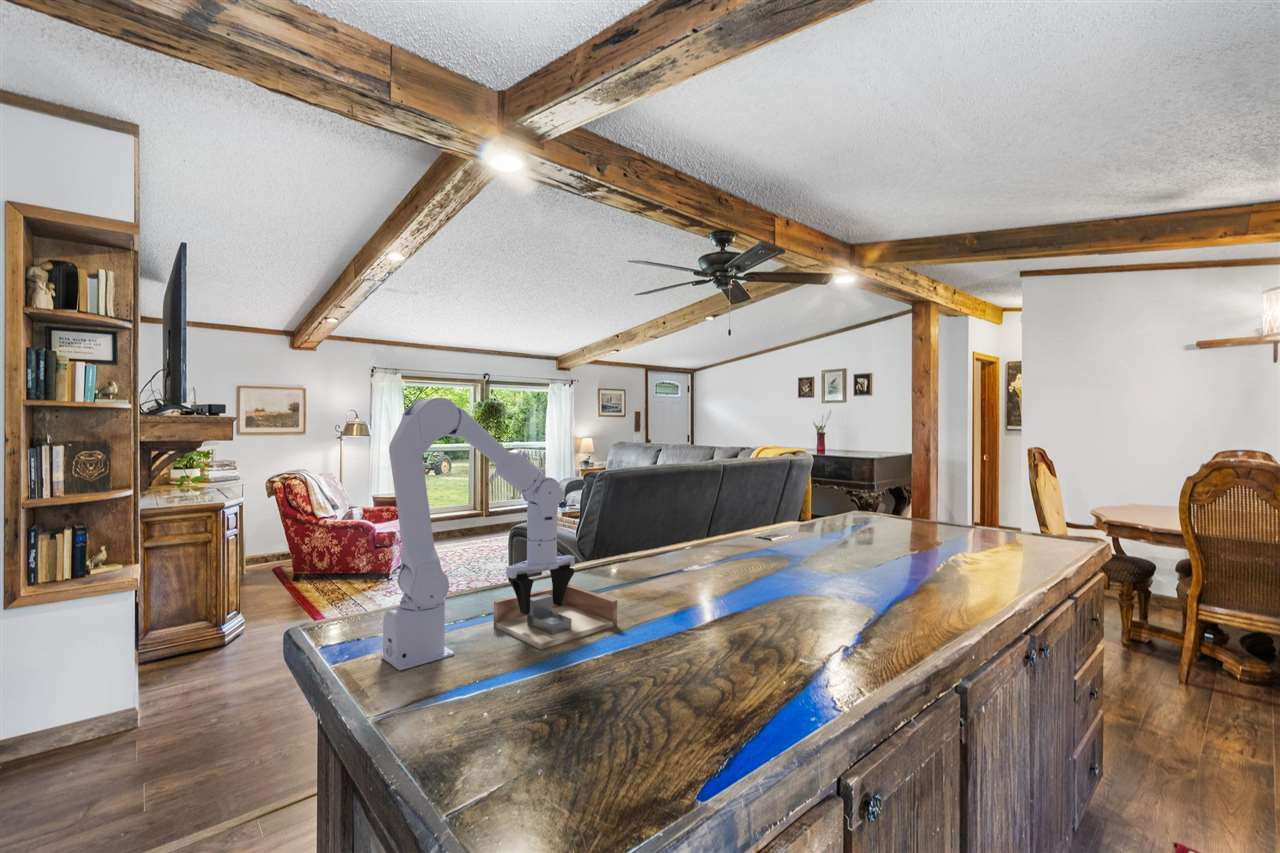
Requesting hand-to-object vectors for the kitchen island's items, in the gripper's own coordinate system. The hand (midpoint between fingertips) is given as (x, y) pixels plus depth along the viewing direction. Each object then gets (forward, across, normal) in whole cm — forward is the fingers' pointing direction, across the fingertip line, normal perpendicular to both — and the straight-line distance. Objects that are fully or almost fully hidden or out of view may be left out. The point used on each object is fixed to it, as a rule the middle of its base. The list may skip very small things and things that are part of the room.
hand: (541, 608), depth 112 cm
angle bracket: (+3, 0, -2) cm, 4 cm away
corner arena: (+4, +3, 0) cm, 5 cm away
